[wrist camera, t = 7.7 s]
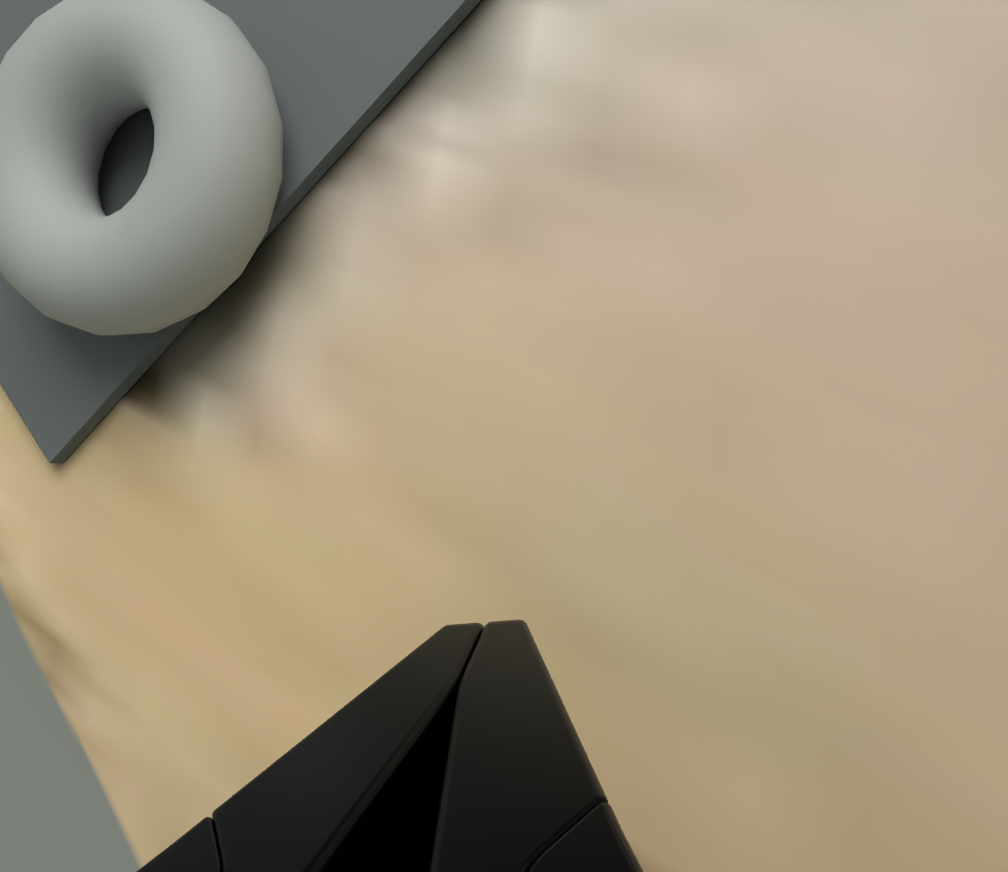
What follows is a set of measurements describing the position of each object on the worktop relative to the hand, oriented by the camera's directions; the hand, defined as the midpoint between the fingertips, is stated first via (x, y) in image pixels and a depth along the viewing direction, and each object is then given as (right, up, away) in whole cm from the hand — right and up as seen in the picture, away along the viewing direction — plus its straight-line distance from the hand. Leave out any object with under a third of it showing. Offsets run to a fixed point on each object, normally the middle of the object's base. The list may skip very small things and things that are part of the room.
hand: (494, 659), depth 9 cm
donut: (-7, +7, +14) cm, 17 cm away
